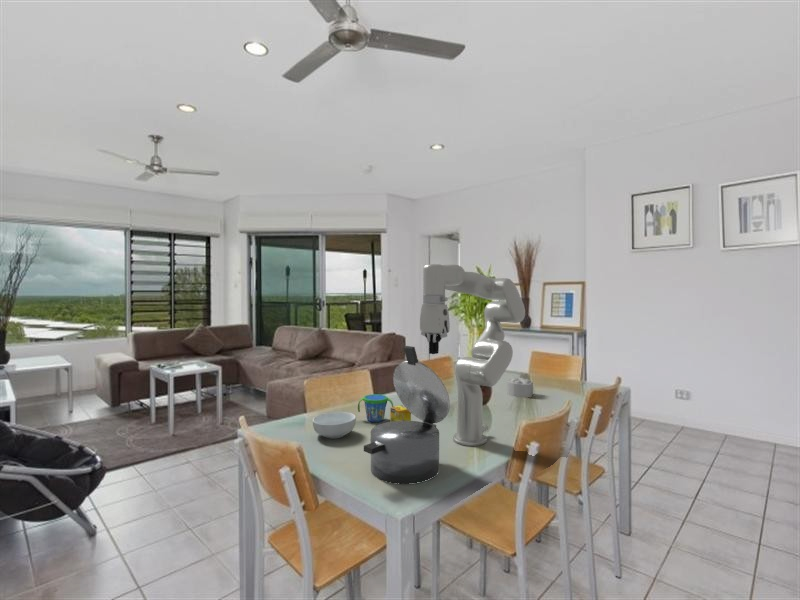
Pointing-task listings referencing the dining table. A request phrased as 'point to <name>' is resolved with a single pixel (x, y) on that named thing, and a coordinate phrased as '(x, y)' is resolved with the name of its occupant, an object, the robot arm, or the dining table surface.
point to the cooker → (404, 451)
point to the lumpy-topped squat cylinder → (520, 387)
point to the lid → (421, 389)
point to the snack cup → (375, 406)
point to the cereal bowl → (334, 424)
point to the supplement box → (400, 413)
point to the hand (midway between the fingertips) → (433, 353)
